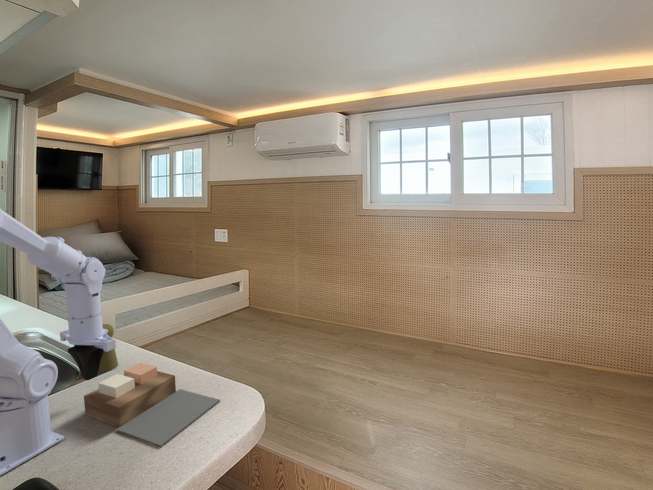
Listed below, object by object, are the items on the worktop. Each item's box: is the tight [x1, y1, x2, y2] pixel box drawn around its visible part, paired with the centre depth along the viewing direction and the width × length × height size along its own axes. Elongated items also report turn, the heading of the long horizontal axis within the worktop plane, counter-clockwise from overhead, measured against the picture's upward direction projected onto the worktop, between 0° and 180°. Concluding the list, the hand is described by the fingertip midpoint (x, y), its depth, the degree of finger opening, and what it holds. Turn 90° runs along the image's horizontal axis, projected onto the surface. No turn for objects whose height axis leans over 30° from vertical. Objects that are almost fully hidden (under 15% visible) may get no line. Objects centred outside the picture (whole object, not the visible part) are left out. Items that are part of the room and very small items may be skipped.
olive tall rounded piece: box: [98, 323, 119, 374], centre depth 88 cm, size 6×6×11 cm
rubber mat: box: [115, 388, 221, 448], centre depth 68 cm, size 15×11×1 cm
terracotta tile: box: [123, 362, 158, 384], centre depth 75 cm, size 4×5×2 cm
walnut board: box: [83, 370, 177, 428], centre depth 72 cm, size 13×10×4 cm
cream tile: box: [97, 373, 135, 398], centre depth 70 cm, size 4×5×2 cm
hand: (90, 377), depth 73 cm, fingers closed
